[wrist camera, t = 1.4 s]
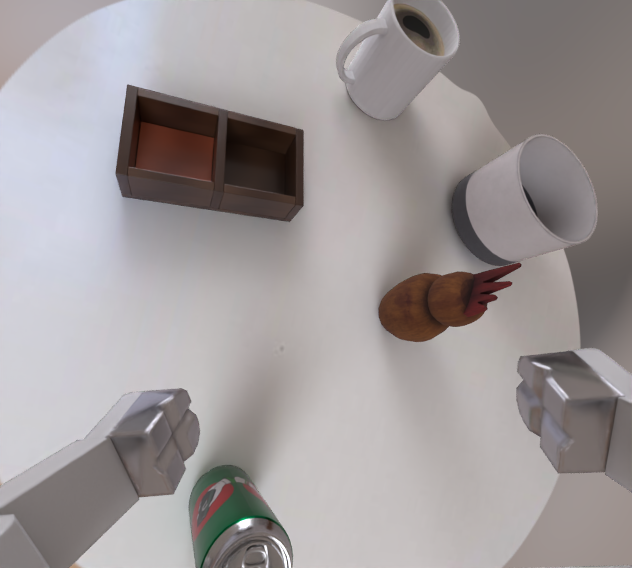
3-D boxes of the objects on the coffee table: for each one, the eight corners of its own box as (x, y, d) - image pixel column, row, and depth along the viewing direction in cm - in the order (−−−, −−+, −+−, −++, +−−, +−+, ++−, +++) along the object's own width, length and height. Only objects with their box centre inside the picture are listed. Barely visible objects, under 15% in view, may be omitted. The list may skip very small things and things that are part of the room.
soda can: (182, 534, 27) (190, 652, 16) (194, 463, 28) (209, 527, 17) (247, 530, 28) (294, 633, 18) (255, 463, 30) (304, 521, 19)
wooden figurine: (396, 274, 40) (513, 229, 26) (426, 313, 40) (556, 288, 26) (359, 312, 37) (469, 282, 23) (392, 353, 37) (518, 347, 24)
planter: (524, 266, 48) (610, 242, 39) (456, 271, 43) (535, 245, 34) (503, 181, 50) (579, 139, 41) (435, 176, 45) (505, 127, 36)
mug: (410, 87, 47) (467, 22, 38) (391, 137, 44) (448, 78, 35) (344, 37, 44) (389, -47, 35) (319, 86, 41) (360, 8, 32)
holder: (122, 196, 30) (115, 173, 26) (132, 116, 32) (127, 84, 28) (290, 222, 36) (303, 205, 32) (290, 152, 38) (303, 129, 34)
